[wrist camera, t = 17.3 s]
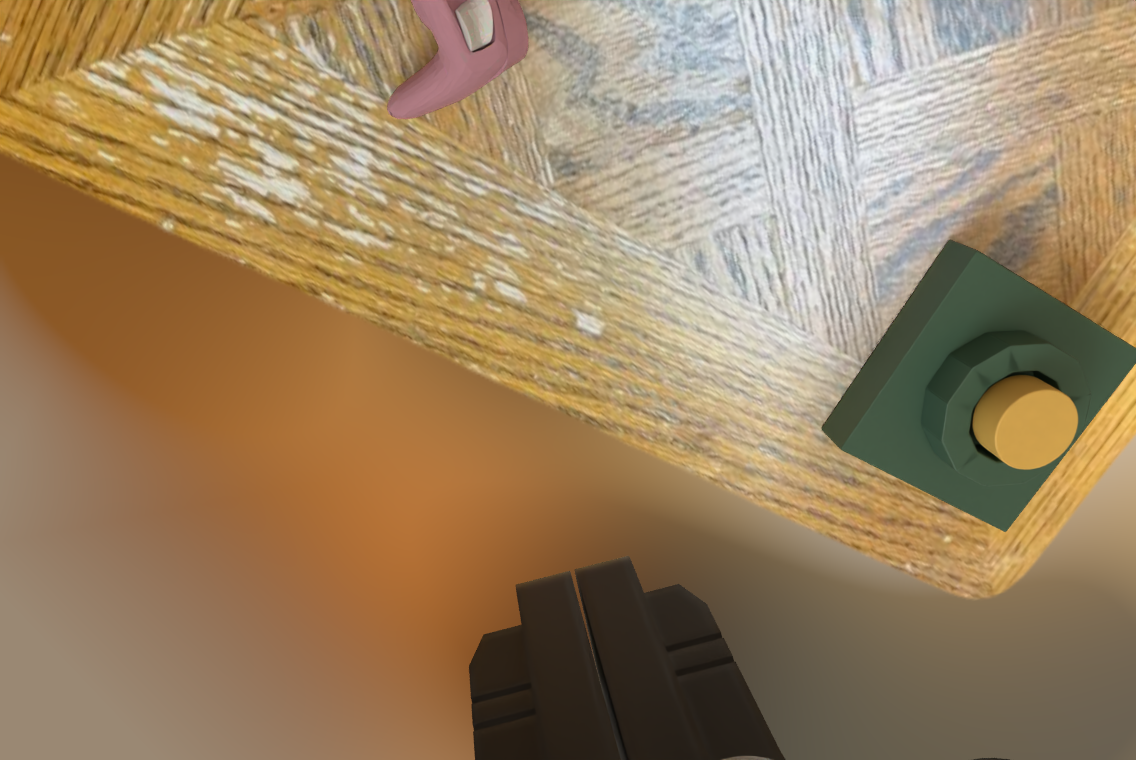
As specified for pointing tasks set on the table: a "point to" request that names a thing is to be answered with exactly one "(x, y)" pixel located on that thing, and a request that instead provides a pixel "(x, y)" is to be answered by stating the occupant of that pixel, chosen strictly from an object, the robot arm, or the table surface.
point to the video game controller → (461, 52)
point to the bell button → (1025, 421)
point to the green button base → (971, 381)
